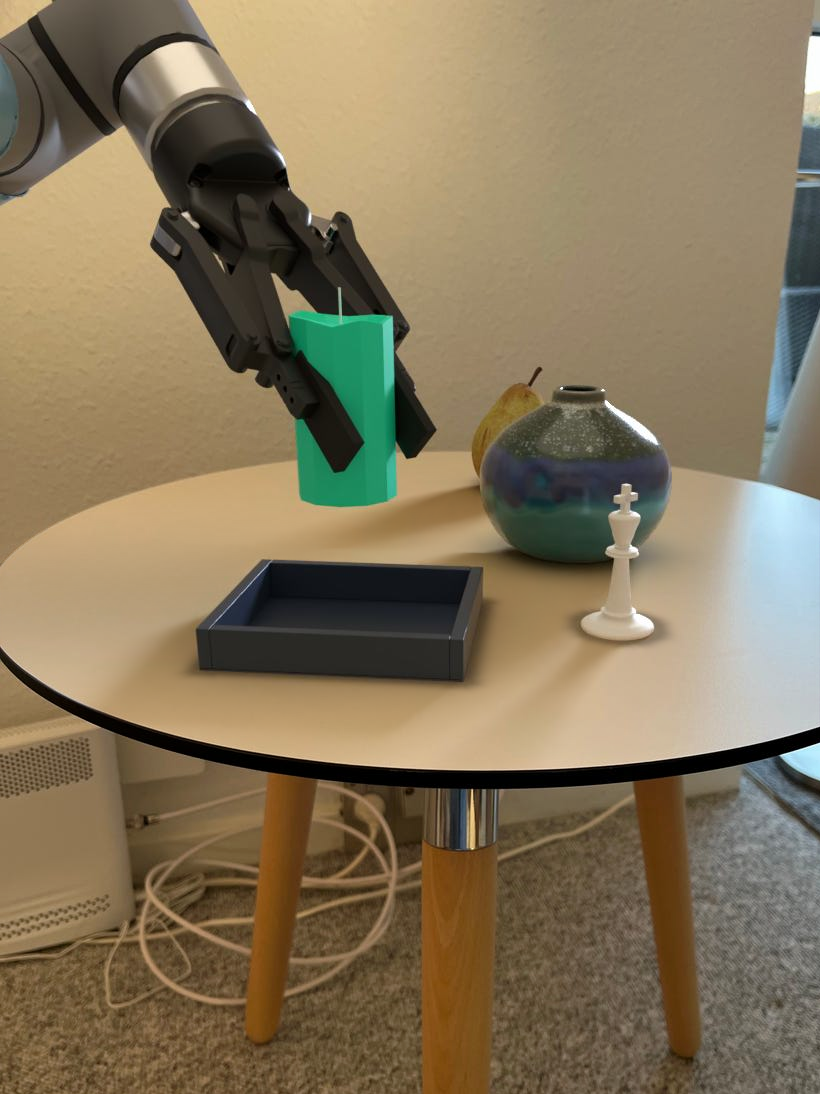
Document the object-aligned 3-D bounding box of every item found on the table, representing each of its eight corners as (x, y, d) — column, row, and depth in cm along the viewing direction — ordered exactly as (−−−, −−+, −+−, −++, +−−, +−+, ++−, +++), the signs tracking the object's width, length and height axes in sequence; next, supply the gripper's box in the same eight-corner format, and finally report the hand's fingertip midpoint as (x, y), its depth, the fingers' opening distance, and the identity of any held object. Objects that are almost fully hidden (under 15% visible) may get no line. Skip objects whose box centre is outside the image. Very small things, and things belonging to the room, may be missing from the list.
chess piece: (563, 630, 67) (570, 482, 64) (617, 615, 70) (626, 472, 66) (616, 653, 64) (626, 498, 60) (670, 636, 67) (683, 487, 63)
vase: (705, 563, 81) (722, 394, 76) (547, 594, 74) (554, 410, 69) (590, 519, 94) (598, 371, 89) (444, 542, 86) (444, 382, 81)
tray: (199, 677, 60) (194, 628, 59) (264, 600, 72) (261, 558, 71) (463, 689, 59) (463, 639, 57) (482, 608, 71) (483, 566, 70)
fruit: (463, 493, 102) (463, 371, 98) (482, 474, 111) (484, 361, 106) (548, 499, 101) (552, 375, 96) (561, 479, 109) (566, 364, 104)
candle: (277, 498, 61) (263, 287, 57) (340, 479, 66) (331, 283, 61) (356, 512, 58) (347, 291, 54) (416, 491, 63) (413, 287, 58)
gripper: (300, 198, 72) (464, 466, 67) (53, 190, 60) (231, 515, 55) (344, 108, 66) (525, 393, 62) (81, 80, 54) (281, 430, 50)
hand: (386, 450), depth 58 cm, fingers closed on candle, 5 cm apart
